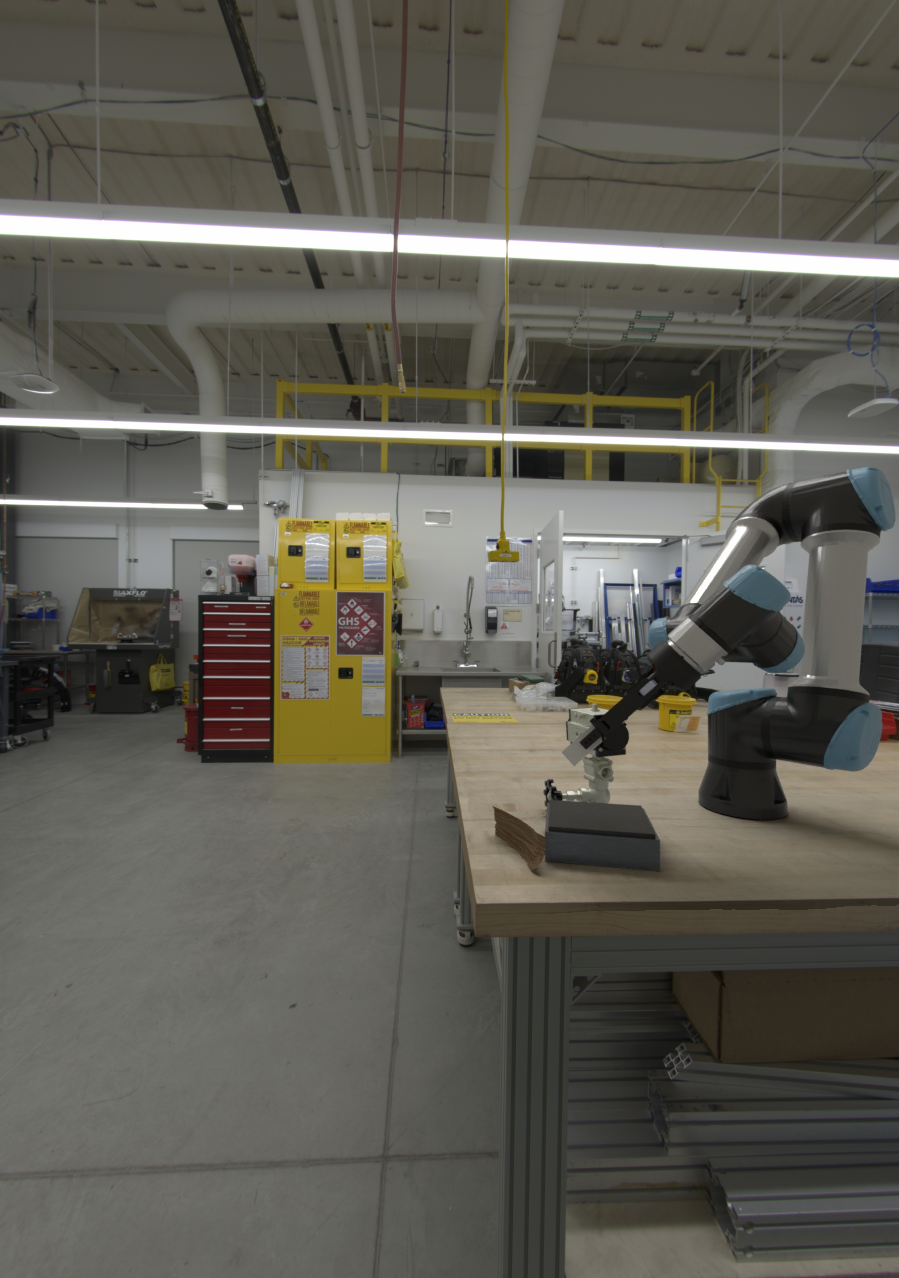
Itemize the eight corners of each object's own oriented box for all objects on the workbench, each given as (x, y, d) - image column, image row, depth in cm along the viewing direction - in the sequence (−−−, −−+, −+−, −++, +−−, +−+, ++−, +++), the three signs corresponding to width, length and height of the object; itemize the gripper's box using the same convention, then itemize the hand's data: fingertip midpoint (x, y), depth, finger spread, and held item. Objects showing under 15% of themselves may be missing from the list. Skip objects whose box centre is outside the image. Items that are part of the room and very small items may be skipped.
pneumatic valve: (593, 770, 86) (590, 699, 86) (633, 788, 75) (628, 706, 75) (563, 773, 85) (559, 701, 85) (598, 792, 74) (594, 709, 74)
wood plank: (487, 836, 85) (487, 806, 86) (498, 834, 86) (498, 804, 86) (535, 875, 71) (535, 839, 71) (548, 872, 72) (547, 837, 72)
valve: (603, 806, 101) (543, 808, 100) (602, 773, 101) (543, 774, 100) (616, 818, 94) (552, 820, 93) (616, 782, 94) (552, 784, 93)
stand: (643, 834, 86) (643, 804, 86) (660, 871, 72) (659, 835, 72) (547, 827, 89) (547, 798, 89) (545, 861, 75) (545, 827, 75)
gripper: (703, 679, 63) (576, 788, 70) (705, 671, 84) (606, 756, 91) (657, 636, 66) (539, 746, 73) (670, 639, 86) (577, 724, 93)
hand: (576, 752), depth 82 cm, fingers closed on pneumatic valve, 10 cm apart
